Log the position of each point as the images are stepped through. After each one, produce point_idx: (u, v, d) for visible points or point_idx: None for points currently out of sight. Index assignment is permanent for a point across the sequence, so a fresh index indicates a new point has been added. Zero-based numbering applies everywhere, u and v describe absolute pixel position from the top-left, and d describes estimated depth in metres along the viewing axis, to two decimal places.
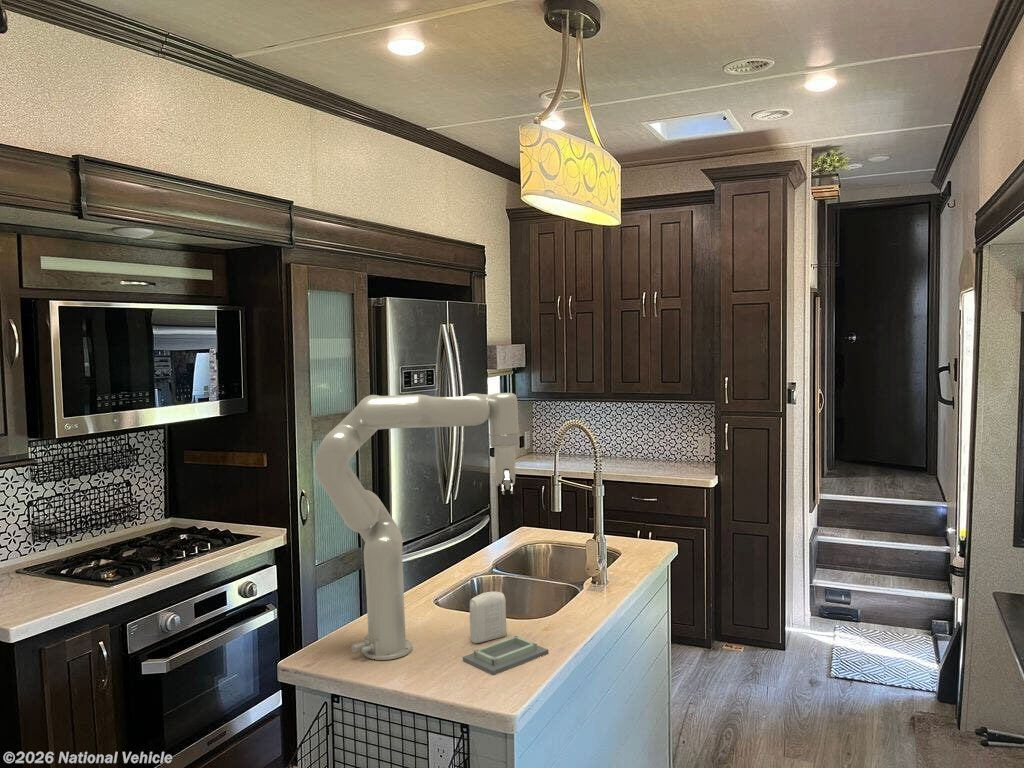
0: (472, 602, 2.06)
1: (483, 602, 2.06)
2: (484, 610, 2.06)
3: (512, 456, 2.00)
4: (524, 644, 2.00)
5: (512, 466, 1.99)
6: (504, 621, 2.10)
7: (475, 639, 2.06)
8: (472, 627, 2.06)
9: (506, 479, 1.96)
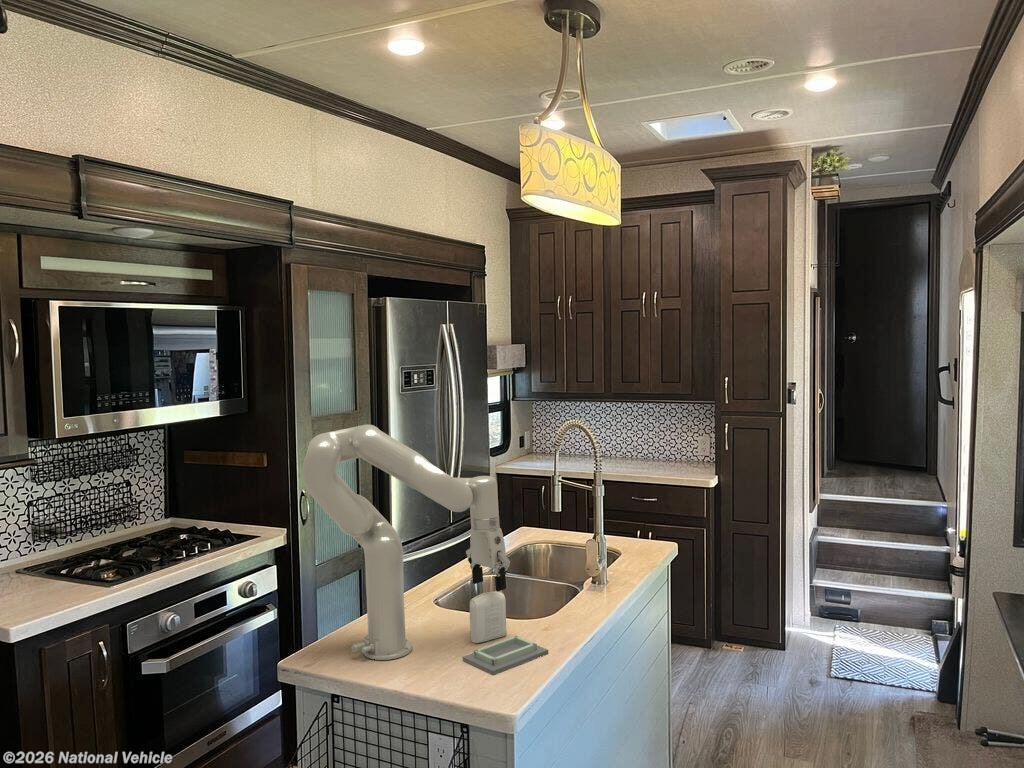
0: (472, 602, 2.06)
1: (483, 602, 2.06)
2: (484, 610, 2.06)
3: None
4: (524, 644, 2.00)
5: None
6: (504, 621, 2.10)
7: (475, 639, 2.06)
8: (472, 627, 2.06)
9: None
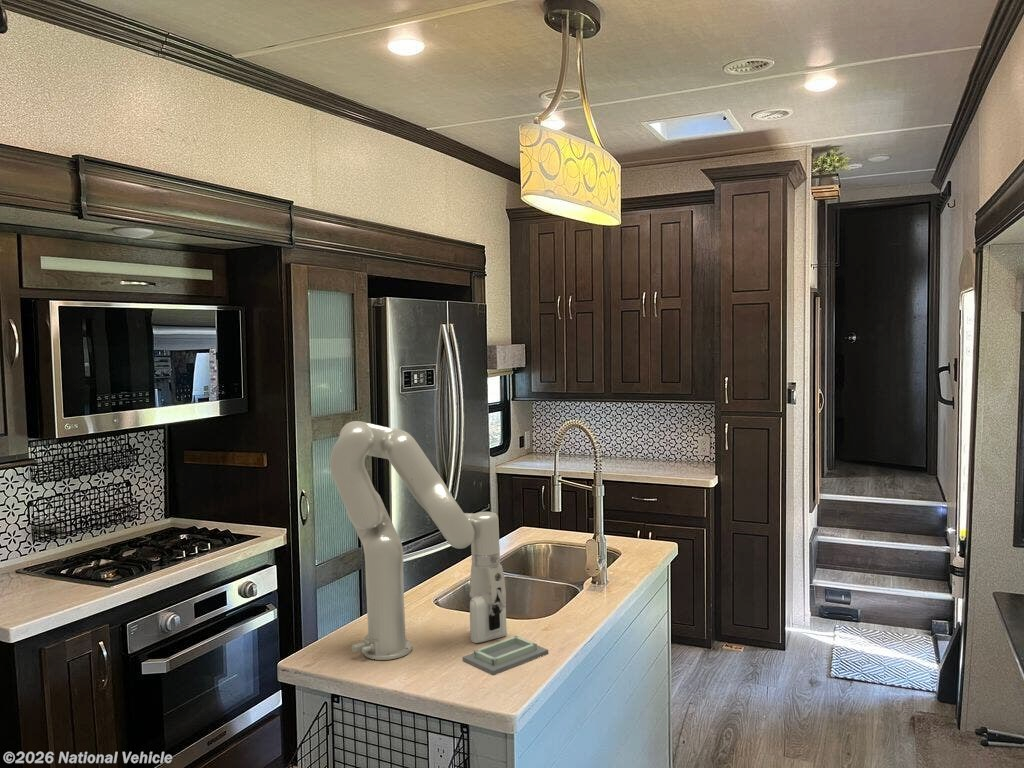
0: (472, 602, 2.06)
1: (484, 602, 2.06)
2: (484, 610, 2.06)
3: None
4: (524, 644, 2.00)
5: None
6: (504, 621, 2.10)
7: (475, 639, 2.06)
8: (472, 627, 2.06)
9: None
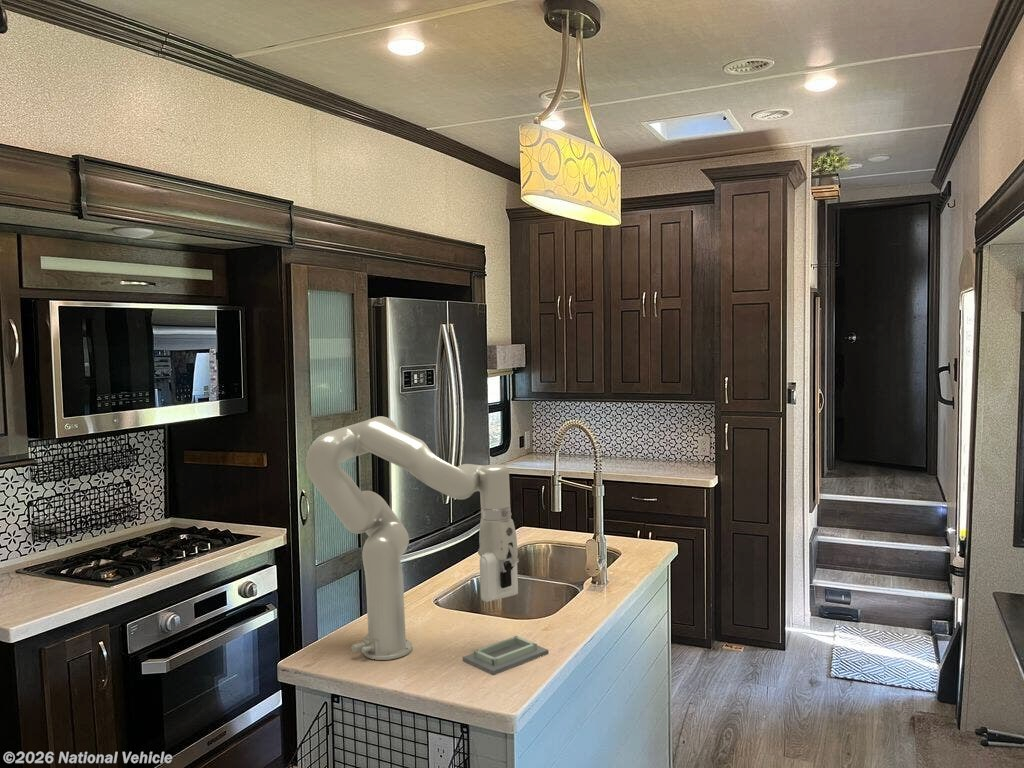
0: (483, 559, 1.96)
1: (495, 558, 1.96)
2: (495, 566, 1.96)
3: None
4: (524, 644, 2.00)
5: None
6: (516, 579, 2.00)
7: (486, 598, 1.96)
8: (482, 585, 1.96)
9: None
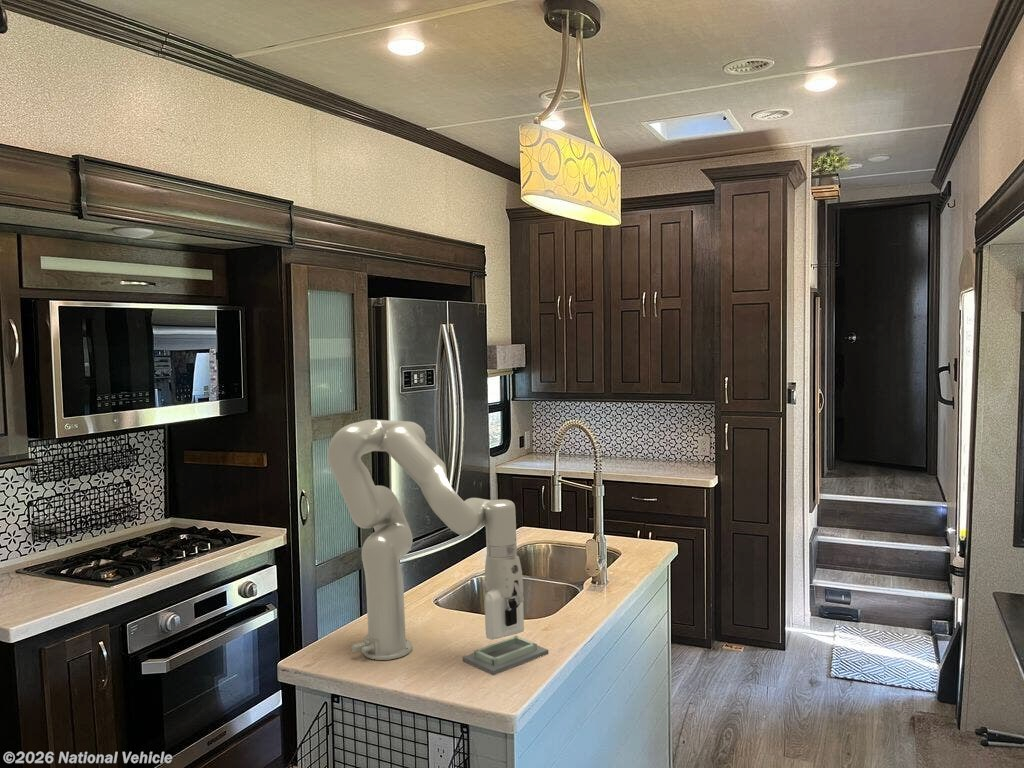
0: (488, 596, 1.93)
1: (500, 596, 1.93)
2: (500, 604, 1.93)
3: None
4: (524, 644, 2.00)
5: None
6: (521, 616, 1.96)
7: (490, 636, 1.92)
8: (487, 623, 1.93)
9: None
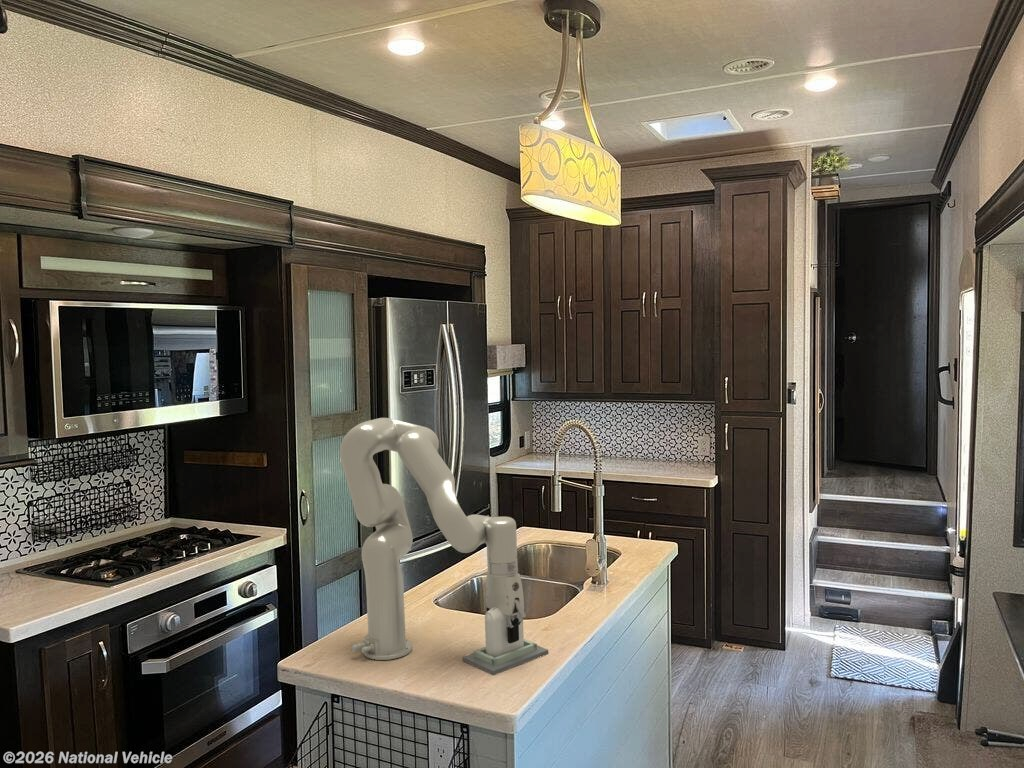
0: (488, 615, 1.93)
1: (500, 615, 1.93)
2: (501, 623, 1.93)
3: None
4: (524, 644, 2.00)
5: None
6: (521, 634, 1.97)
7: (491, 655, 1.93)
8: (488, 642, 1.93)
9: None
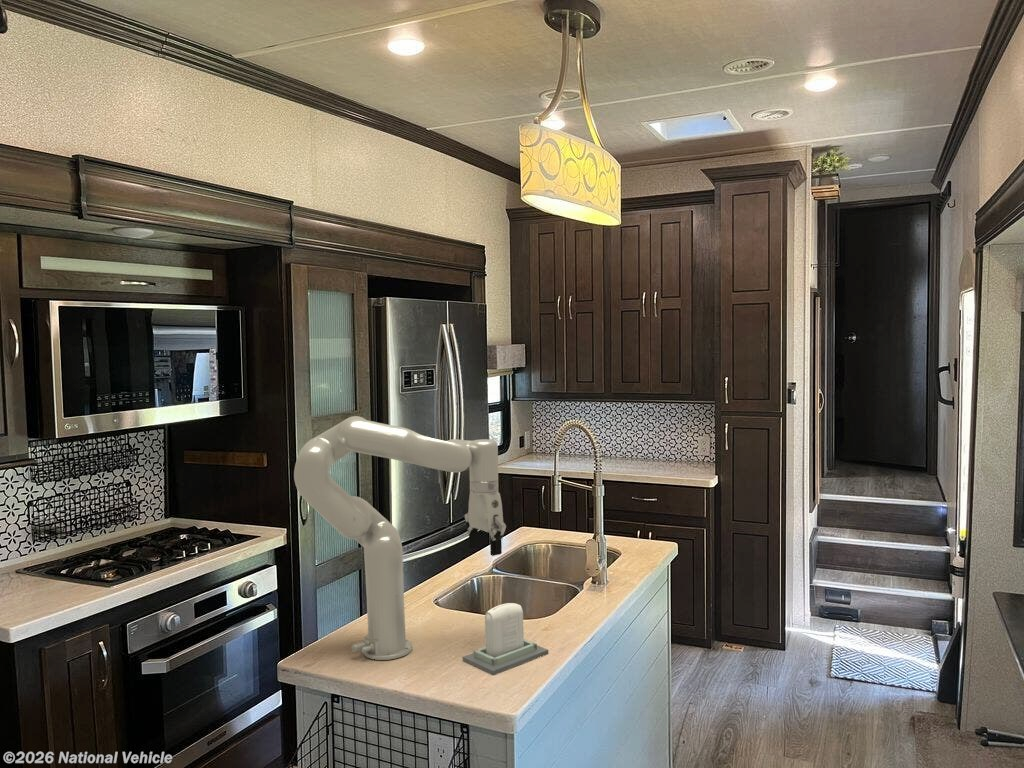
0: (488, 615, 1.93)
1: (500, 615, 1.93)
2: (501, 623, 1.93)
3: None
4: (524, 644, 2.00)
5: None
6: (521, 635, 1.97)
7: (491, 655, 1.93)
8: (488, 642, 1.93)
9: None
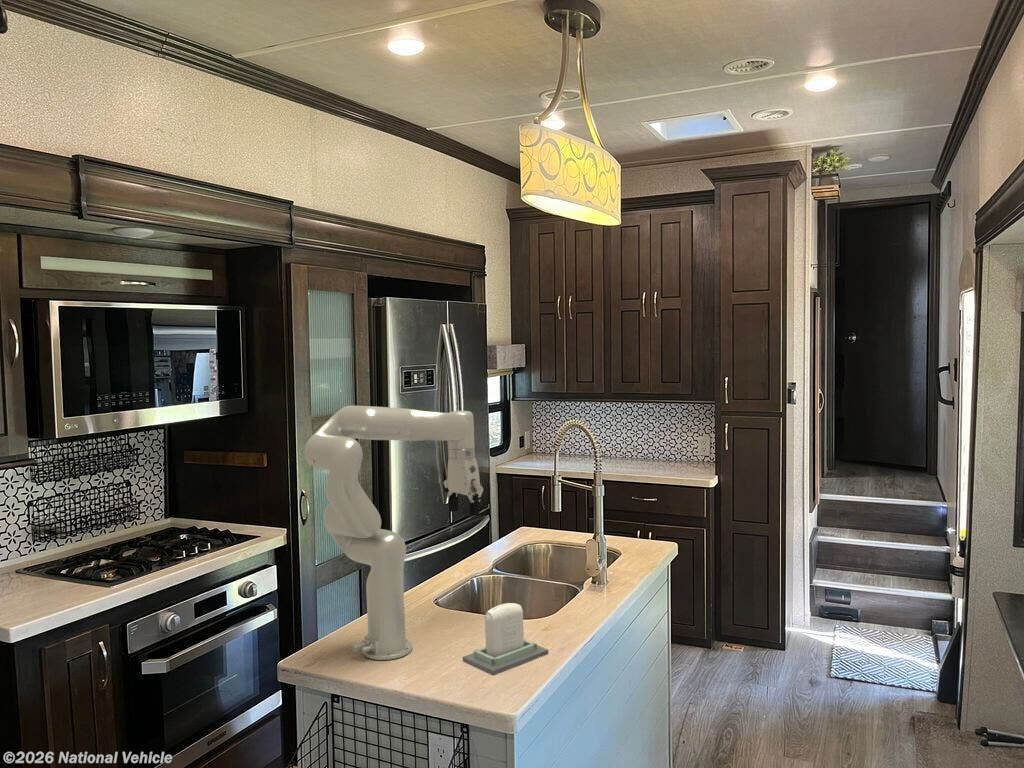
0: (488, 615, 1.93)
1: (500, 615, 1.93)
2: (501, 623, 1.93)
3: None
4: (524, 644, 2.00)
5: None
6: (521, 635, 1.97)
7: (491, 655, 1.93)
8: (488, 642, 1.93)
9: None
